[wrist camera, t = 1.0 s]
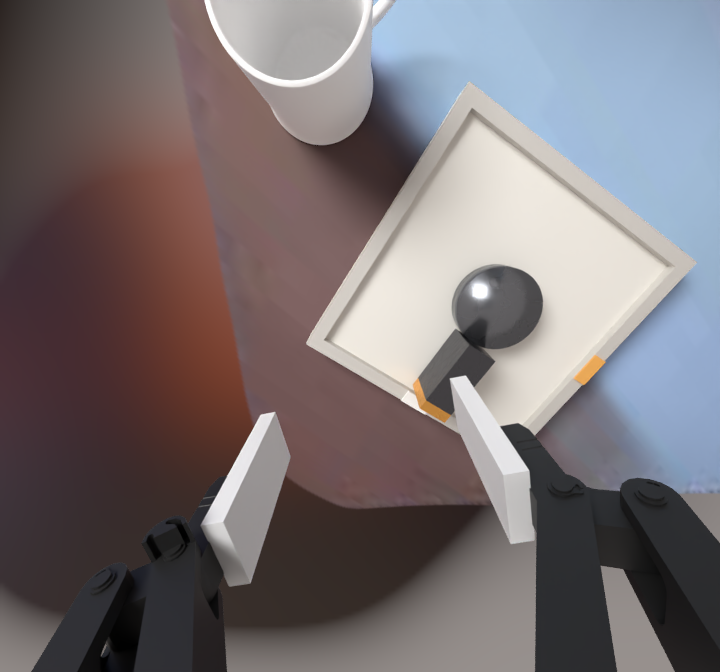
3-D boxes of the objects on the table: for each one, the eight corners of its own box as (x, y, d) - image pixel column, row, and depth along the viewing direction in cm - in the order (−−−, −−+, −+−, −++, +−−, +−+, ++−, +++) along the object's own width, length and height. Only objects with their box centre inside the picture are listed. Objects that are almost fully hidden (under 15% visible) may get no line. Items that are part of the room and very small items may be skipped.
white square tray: (459, 95, 27) (470, 80, 24) (668, 259, 31) (699, 262, 28) (310, 334, 34) (305, 344, 31) (498, 446, 38) (509, 464, 35)
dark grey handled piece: (485, 247, 28) (506, 251, 24) (548, 292, 30) (578, 303, 25) (393, 373, 32) (397, 395, 28) (452, 408, 33) (465, 435, 29)
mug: (379, -33, 25) (391, -250, 13) (427, 89, 27) (473, -9, 16) (245, 59, 27) (157, -64, 15) (301, 165, 29) (260, 127, 18)
